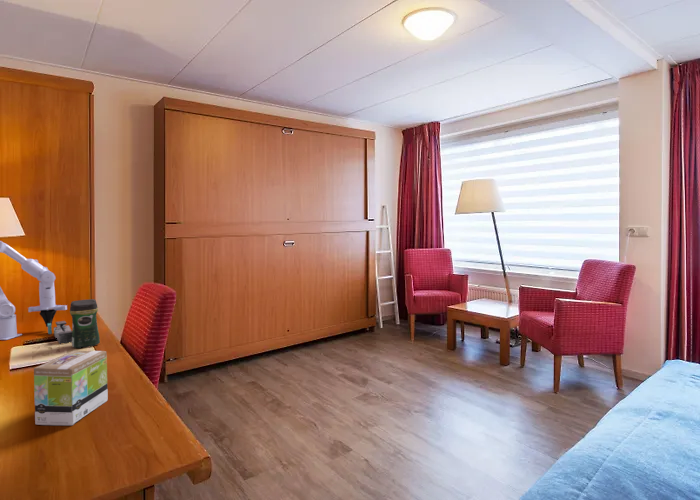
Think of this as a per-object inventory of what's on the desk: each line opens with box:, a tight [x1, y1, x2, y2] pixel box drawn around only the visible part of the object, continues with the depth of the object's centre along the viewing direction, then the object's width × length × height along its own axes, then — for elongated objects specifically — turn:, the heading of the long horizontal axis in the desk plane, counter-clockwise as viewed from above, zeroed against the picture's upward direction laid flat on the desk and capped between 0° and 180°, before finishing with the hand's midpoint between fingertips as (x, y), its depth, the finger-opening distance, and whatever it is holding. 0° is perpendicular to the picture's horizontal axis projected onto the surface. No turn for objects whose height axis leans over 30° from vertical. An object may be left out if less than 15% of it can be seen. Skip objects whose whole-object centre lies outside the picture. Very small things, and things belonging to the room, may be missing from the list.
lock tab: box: [47, 323, 53, 335], centre depth 188 cm, size 4×1×4 cm, turn 38°
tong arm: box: [53, 320, 67, 345], centre depth 182 cm, size 21×4×5 cm, turn 41°
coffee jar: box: [69, 298, 101, 349], centre depth 170 cm, size 10×8×19 cm
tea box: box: [33, 350, 109, 426], centre depth 112 cm, size 15×10×15 cm
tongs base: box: [60, 324, 72, 344], centre depth 182 cm, size 20×4×4 cm, turn 38°
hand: (49, 326), depth 193 cm, fingers closed
